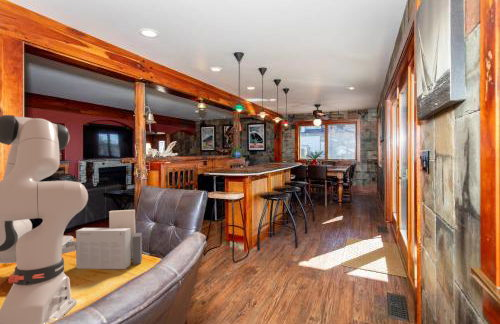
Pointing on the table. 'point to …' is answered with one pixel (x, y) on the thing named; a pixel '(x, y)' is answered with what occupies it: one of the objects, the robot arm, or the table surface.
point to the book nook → (128, 221)
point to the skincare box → (103, 248)
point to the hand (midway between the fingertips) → (78, 246)
